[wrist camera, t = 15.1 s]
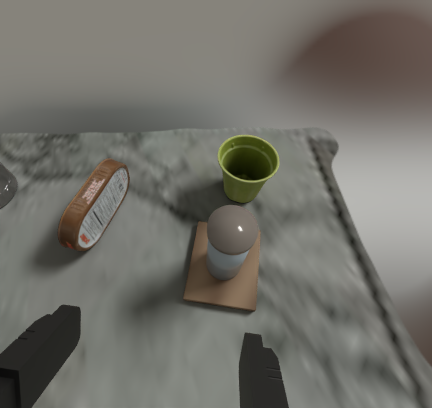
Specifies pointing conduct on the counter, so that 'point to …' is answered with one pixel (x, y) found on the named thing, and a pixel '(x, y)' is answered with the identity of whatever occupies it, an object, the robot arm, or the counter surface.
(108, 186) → the tin
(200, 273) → the tan board
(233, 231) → the blue jar
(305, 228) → the counter surface
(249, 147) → the plant pot
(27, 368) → the robot arm
